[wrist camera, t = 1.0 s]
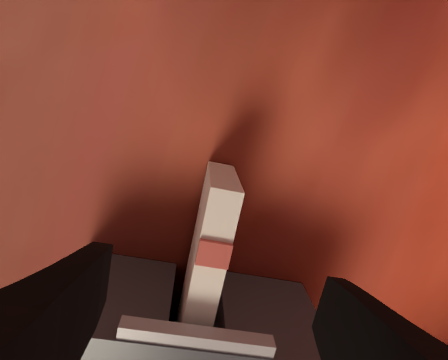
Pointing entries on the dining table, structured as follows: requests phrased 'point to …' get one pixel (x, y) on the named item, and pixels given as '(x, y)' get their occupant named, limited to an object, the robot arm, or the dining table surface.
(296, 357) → the panel
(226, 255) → the pale narrow strip
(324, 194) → the dining table surface
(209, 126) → the dining table surface
